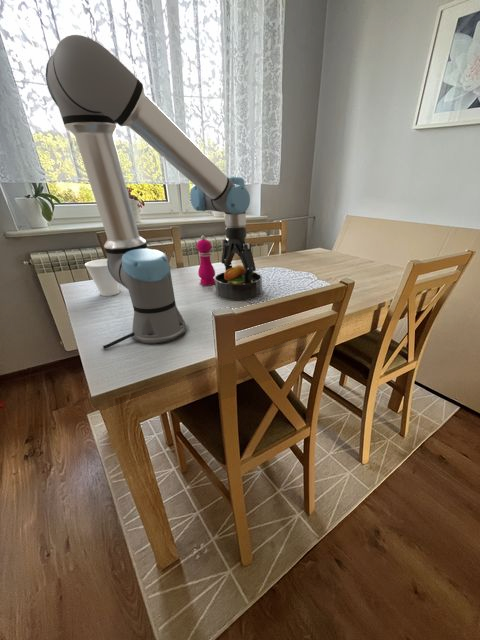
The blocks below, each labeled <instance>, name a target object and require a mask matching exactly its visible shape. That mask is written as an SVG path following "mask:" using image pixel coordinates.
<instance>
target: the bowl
mask: <svg viewBox="0 0 480 640" xmlns="http://www.w3.org/2000/svg"><path fill="white" fill-rule="evenodd" d="M225 272H226V271H224V272H221V273H218V274H217V275H216V274H215V276H214V279H215V284H214V287H215V289H214V290H215V294H216V296H218V297H219V298H222V299H224V300H225V299H226V300H229V301H245V300H251V299H254V298H256V297H258V296H260V295H261V294H262V292H263V276H262V274H260V273H259V272H256V271H253V272H252V281H253V282H251V283H246V284H228V283H227V280H225V279H224V275H225ZM243 273H244V272H243ZM243 275H244V274H243Z"/></svg>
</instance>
